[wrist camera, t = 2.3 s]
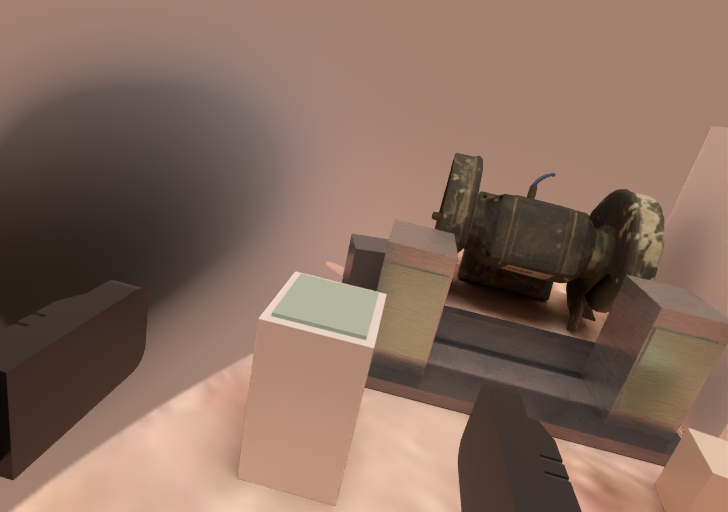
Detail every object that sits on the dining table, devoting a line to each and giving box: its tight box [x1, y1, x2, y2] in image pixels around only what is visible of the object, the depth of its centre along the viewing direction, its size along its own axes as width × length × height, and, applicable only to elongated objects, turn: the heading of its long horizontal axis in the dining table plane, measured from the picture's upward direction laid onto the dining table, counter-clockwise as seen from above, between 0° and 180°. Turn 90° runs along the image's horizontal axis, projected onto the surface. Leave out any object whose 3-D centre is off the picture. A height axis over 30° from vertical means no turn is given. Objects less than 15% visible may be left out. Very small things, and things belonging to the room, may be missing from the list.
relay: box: [342, 234, 389, 289], centre depth 44 cm, size 5×4×7 cm
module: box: [237, 272, 387, 506], centre depth 25 cm, size 6×6×10 cm
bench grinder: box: [432, 153, 664, 331], centre depth 52 cm, size 20×22×20 cm
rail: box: [365, 220, 728, 466], centre depth 35 cm, size 26×9×11 cm, turn 81°
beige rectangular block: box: [655, 428, 728, 512], centre depth 27 cm, size 4×4×5 cm
